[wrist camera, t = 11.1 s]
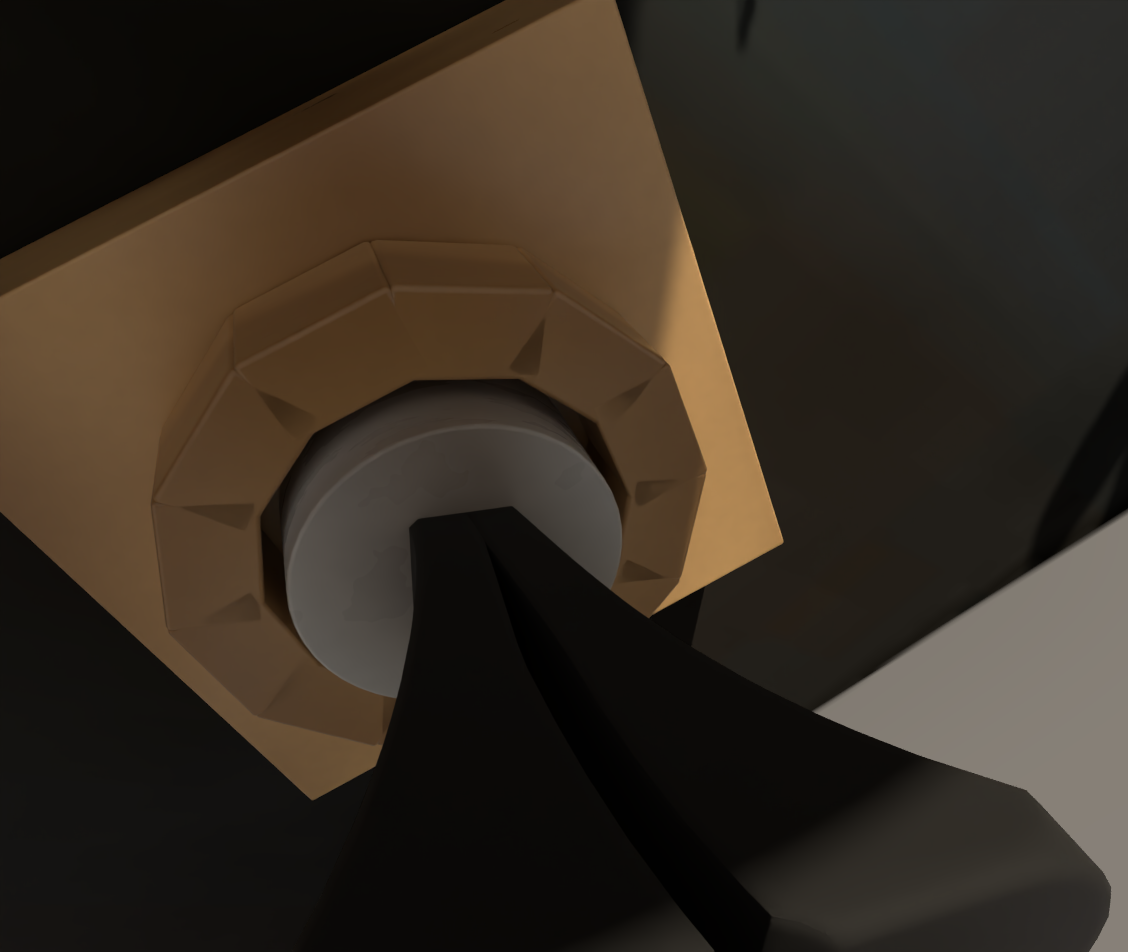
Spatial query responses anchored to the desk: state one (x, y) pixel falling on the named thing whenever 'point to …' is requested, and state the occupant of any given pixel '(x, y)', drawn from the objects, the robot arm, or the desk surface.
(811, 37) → the desk surface
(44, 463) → the lid base
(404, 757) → the robot arm
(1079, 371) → the desk surface
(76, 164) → the desk surface
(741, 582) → the desk surface
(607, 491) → the flask lid
